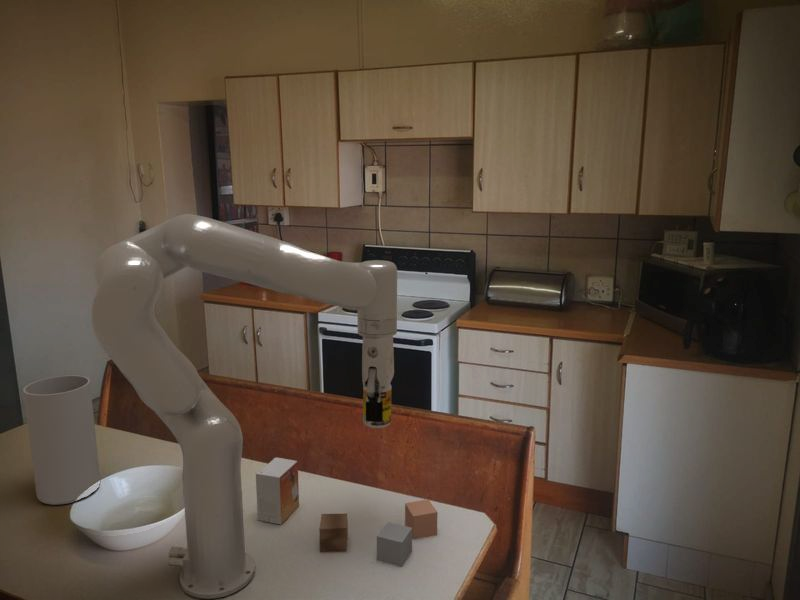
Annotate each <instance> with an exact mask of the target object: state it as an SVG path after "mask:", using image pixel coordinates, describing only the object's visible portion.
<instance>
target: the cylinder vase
mask: <svg viewBox="0 0 800 600" xmlns="http://www.w3.org/2000/svg"><path fill="white" fill-rule="evenodd" d="M91 388H92V387H91V380H90V378H88V377H87V376H83V375H75V374H74V375H72V374H71V375H60V376H59V375H57V376H52V377H51V376H50V377H47V378H43V379H39V380H36V381H33V382H31V383H29V384H27V385H25V386H24V387H23V388H22V391H23V392H22V393H23V398H24V399H23V400H24V406H25V414H26V415H25V416H26V421H27V430H28V439H29V446H30V453H31V454H30V455H31V459H32V462H31V463H32V468H33V477H34V485H35V492H36V498H37V499H38V501H39V502H41V503H43V504H46V505H53V506H55V505H56V506H58V505H66V504H71V503H75V502H74V501H75V500H76V499H77V497H78V496H79V495H80V494H82V493H83V492H84V491H85V490H87V489H88V488H89V487H90V486H92V485H93V484H95V483H96V482H98V481H99V480H100V481H101V475H100V474H101V473H100V463H99V455H98V445H97V436H96V435H97V434H96V428H95V427H96V425H95V417H94V408H93V407H94V405H93V397H92V389H91Z"/></svg>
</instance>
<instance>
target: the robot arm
mask: <svg viewBox="0 0 800 600" xmlns="http://www.w3.org/2000/svg"><path fill="white" fill-rule="evenodd" d="M94 266H95V267H94V274H95V279H96V280H97V283H98V287H97V289H96V292H95V294H94V298H93V300H92V306H91V324H92V329H93V332H94V335H95V337H96V339H97V341H98V343H99V344H100V346H101V347H102V349H103V351H104V352H105V353H106V355H108V357H109V358H110V359H111V360H112V362H113V364H115V365H116V367H117V368H118V370H119V371H120V372H121V374H122V375H123V376H124V377H125V378H126V380H127V381H128V382H129V383H130V384H131V386H132V387H133V388H134V390H135V392H136V394H137V395H138V397H139V398H140V400H141V401H142V402H143V403H144V404H145V405H146V407H148V408H150V409H151V410H152V411H153V412H154V413H155V414H156V415H157V417H159V418H160V420H161V421H162V422H163V423H164V424H165V425H166V426H167V428H168V429H169V430H170V432H171V433H172V435H173V437H174V438H175V439H176V442H177V443H178V445H179V446H180V449H181V453H182V462H183V463H182V494H183V504H184V506H183V507H184V519H185V532H186V544H187V548H186V547H179V546H171V547H170V549H169V551H168V558H169V560H168V566H170V567H180V568H181V569H182V570H181V572H180V576H179V579H180V580H179V581H180V586H181V589H182V590H183V592H185V594H187V595H189V596H191V597H193V598H197V599H205V600H209V599H211V600H213V599H219V598H223V597H226V596H230V595H231V594H235V593H236V592H239V591H240V590H243V588H244V587H246V586H247V585H248V584H249V583H250V582H251V580H252V579H253V577H254V575H255V572H256V571H255V569H256V565H255V559H254V558H253V557H252V556H251V555H250V554H249V553H248V552H246V544H245V527H244V526H245V525H244V523H245V522H244V509H243V508H244V507H243V505H244V504H243V490H242V489H243V488H242V458H243V457H242V453H243V446H244V445H243V444H244V443H243V439H244V438H243V432H242V428H241V425H240V423H239V421H238V419H237V418H236V417H235V415H234V414H233V413H232V411H230V409H228V408H227V407H226V406H225V404H223V403H222V401H220V399H219V398H218V397H217V396H216V394H215V393H213V391H212V390H211V389H210V387H209V386H208V385H207V383H205V381H204V380H203V379H202V377H201V376H200V374H199V372H198V370H197V369H196V367H195V366H194V364H193V363H192V362H191V360H190V359H189V358H188V356H186V355H185V354H184V353H183V352H182V351H181V350H179V349H178V347H177V346H176V345H175V344H174V342H173V341H172V340H171V338H170V337H169V335H168V334H167V333H166V331H165V330H164V329H163V326H161V324H160V323H159V321H158V320H157V317H156V314H155V313H156V312H155V309H156V303H157V300H158V298H159V296H160V293H161V291H162V288H163V284H164V279H166V278H168V277H170V276H173V274H176V273H178V272H180V271H182V270H183V269H185V268H190V269H193V270H194V271H200V272H202V273H203V272H204V273H206V274H210V275H214V276H218V277H221V278H227V279H231V280H234V281H239V282H242V283H244V284H245V283H246V284H249V285H253V286H257V287H260V288H265V289H268V290H272V291H274V292H279V293H283V294H287V295H289V294H290V295H293V296H298V297H301V298H305V299H309V300H313V301H315V302H316V301H317V302H320V303H324V304H328V305H332V306H335V307H338V308H339V307H340V308H343V309H347V310H351V311H357V334H358V336H361V337H362V346H361V347H362V355H361V357H362V358H361V378H362V379H361V381H362V386H363V385H364V386H365V387H367V393H366V421H371V422H382V420H383V401H381V395H382V387H384V388H387V387H388V386H389V385H390V384H391V382H392V380H393V378H394V376H395V375H394V374H395V356H394V354H395V353H394V352H395V351H394V350H395V349H394V336H396V335H397V332H398V316H397V315H398V267H397V265H396V264H395V263H394V262H392V261H390V260H380V259H373V260H365V261H362V262H351V261H349V262H348V261H341V260H337V259H335V258H332V257H328V256H324V255H322V254H319V253H315V252H312V251H309V250H307V249H304V248H302V247H299V246H298V245H296V244H295V245H294V244H293V243H290V242H287V241H284V240H280V239H279V238H276V237H271V236H269V235H265V234H262V233H258V232H255V231H252V230H250V229H246V228H242V227H239V226H237V225H234V224H233V225H232V224H229V223H227V222H224V221H220V220H218V219H217V220H216V219H215V218H214V219H213V218H211V217H206V216H201V215H198V214H192V213H184V214H180V215H177V216H174V217H173V218H170V219H168V220H165V221H164V222H162V223H160V224H157V225H155V226H153V227H151V228H149V229H146V230H144V231H141V232H139V233H137V234H135V235H133V236H131V237H128V238H126V239H124V240H121V241H119V242H117V243H116V244H114V245H111V246H109V247H108V248H106V249H105V250H104V251H103V252H101V254H100V256H98V258H97V261H96V263H95V265H94ZM375 383H379V386H375ZM375 389H378V394H377V392H375Z"/></svg>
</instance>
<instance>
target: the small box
mask: <svg viewBox="0 0 800 600" xmlns="http://www.w3.org/2000/svg"><path fill="white" fill-rule="evenodd" d="M255 486H256V487H255V489H256V490H255V491H256V492H255V493H256V510H257V511H256V512H257V520H258V521H261V522H266V523H270V524H276V525H281V526H282V524H283V523H284V522H285V521H286V520H287V519H288V518H289V517H290V515H292V514H293V513H294V511H296V510H297V509H298V508H299V506H300V500H299V499H300V498H299V497H300V495H299V487H300V486H299V462H298V461H297V460H294V459H287V458H282V457H278V456H277V457H274V458H273V459H272V460H271V461H270V462H269V463H267V464H266V465H265V466H264V467H263V468H261V469H260V470H258V471H257V472H256V473H255Z"/></svg>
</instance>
